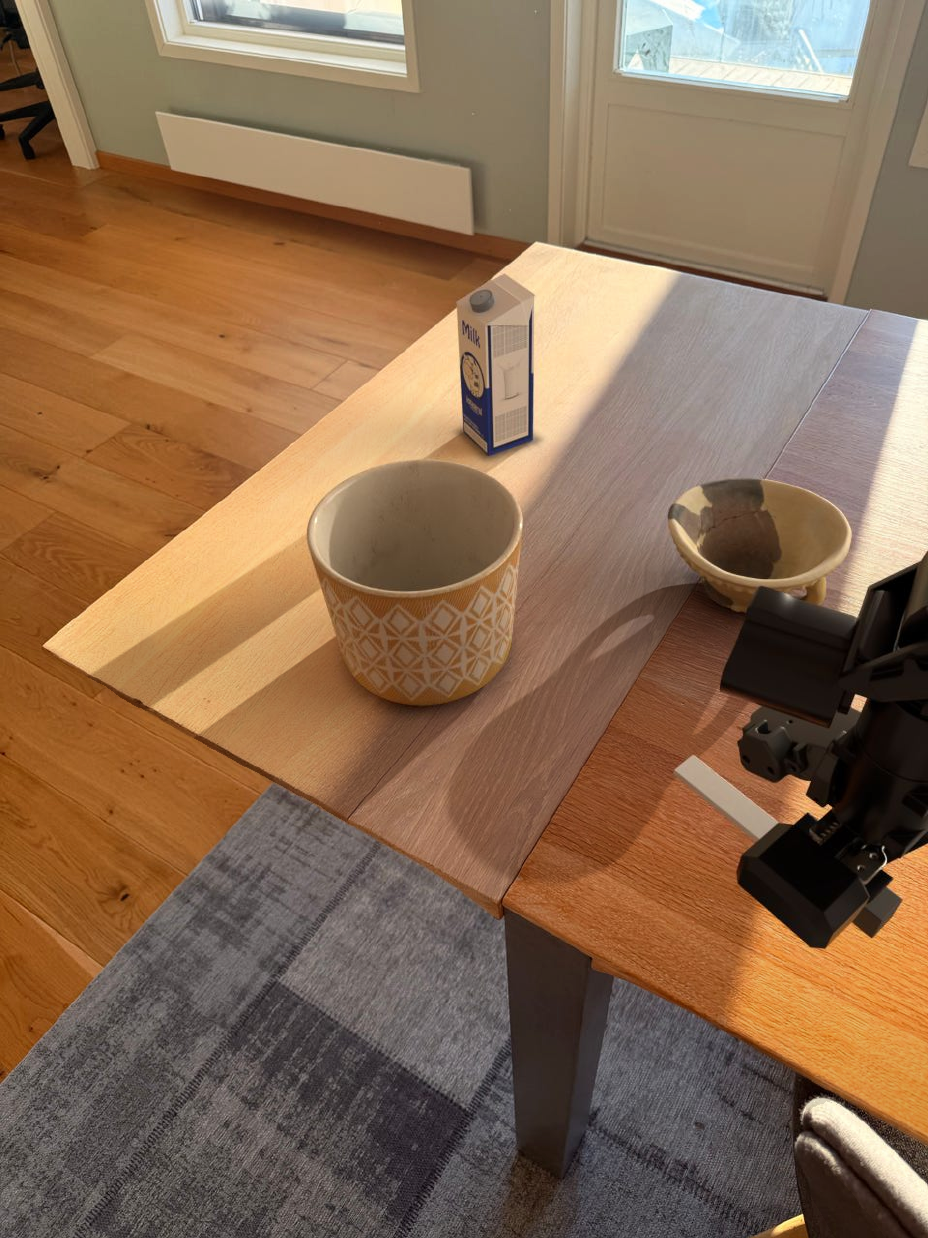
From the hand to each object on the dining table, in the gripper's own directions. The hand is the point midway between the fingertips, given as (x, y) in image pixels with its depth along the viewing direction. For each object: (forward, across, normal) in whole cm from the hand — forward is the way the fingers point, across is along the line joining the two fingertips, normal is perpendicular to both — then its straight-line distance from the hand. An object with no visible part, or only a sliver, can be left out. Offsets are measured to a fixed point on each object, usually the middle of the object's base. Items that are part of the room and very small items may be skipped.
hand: (840, 883), depth 60 cm
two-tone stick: (+1, 0, -5) cm, 5 cm away
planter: (+11, +2, -44) cm, 46 cm away
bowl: (+11, -28, -29) cm, 42 cm away
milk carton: (+11, -28, -69) cm, 75 cm away
